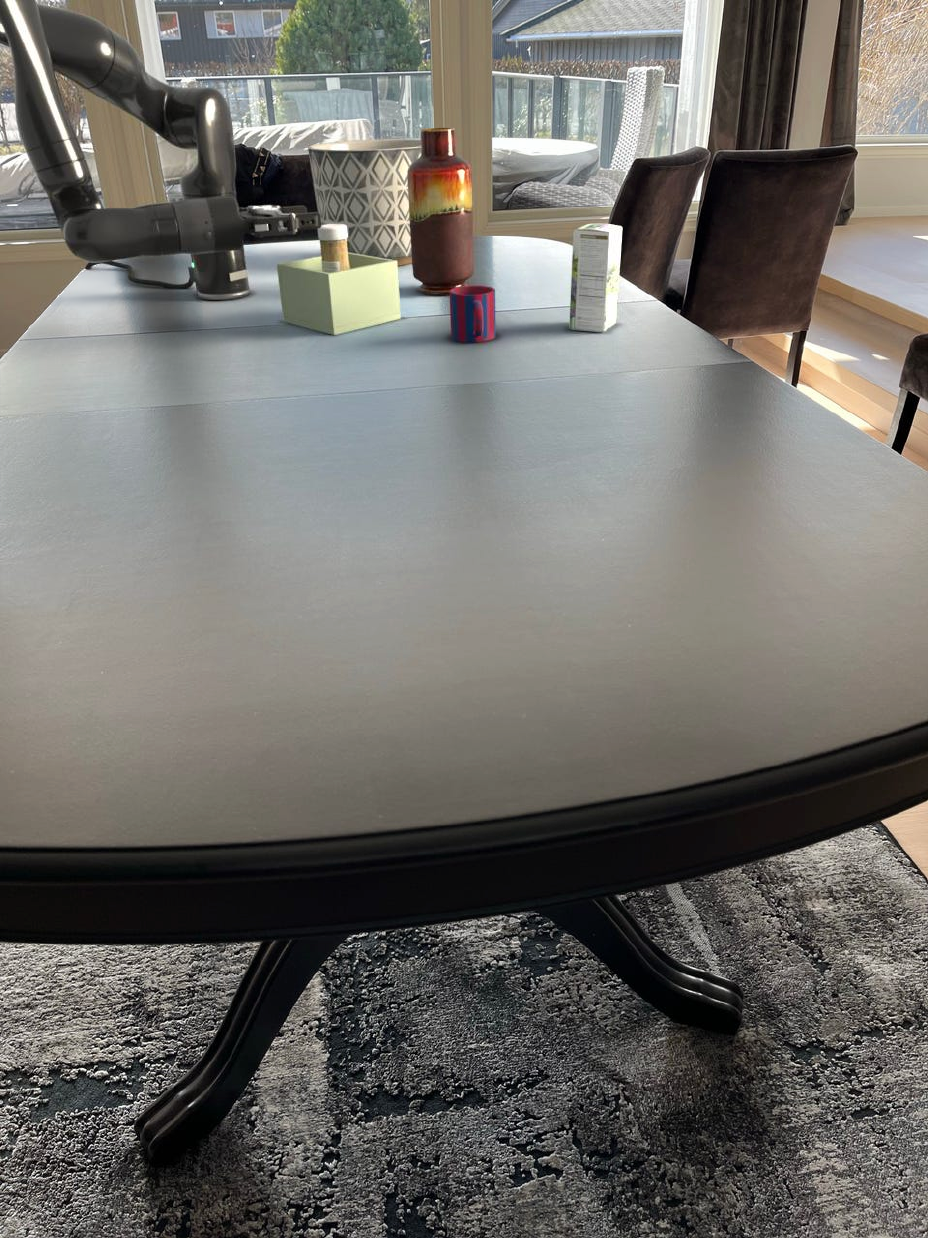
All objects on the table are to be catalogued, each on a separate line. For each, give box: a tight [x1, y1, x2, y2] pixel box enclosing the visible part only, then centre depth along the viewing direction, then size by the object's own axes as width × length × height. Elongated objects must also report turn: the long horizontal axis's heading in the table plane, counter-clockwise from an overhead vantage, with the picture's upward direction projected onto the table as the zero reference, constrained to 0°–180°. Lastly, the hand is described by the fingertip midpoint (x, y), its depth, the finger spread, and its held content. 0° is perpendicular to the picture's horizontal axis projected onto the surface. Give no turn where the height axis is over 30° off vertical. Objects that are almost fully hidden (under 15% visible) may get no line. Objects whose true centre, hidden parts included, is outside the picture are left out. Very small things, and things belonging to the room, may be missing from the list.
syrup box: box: [568, 222, 623, 333], centre depth 141 cm, size 6×6×14 cm
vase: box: [407, 127, 474, 297], centre depth 164 cm, size 11×11×26 cm
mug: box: [449, 285, 497, 344], centre depth 139 cm, size 7×10×7 cm
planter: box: [307, 138, 421, 266], centre depth 193 cm, size 26×26×22 cm
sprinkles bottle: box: [317, 224, 350, 273], centre depth 150 cm, size 5×5×13 cm
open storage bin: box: [276, 252, 402, 336], centre depth 151 cm, size 14×14×9 cm
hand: (313, 216), depth 144 cm, fingers open, 8 cm apart
